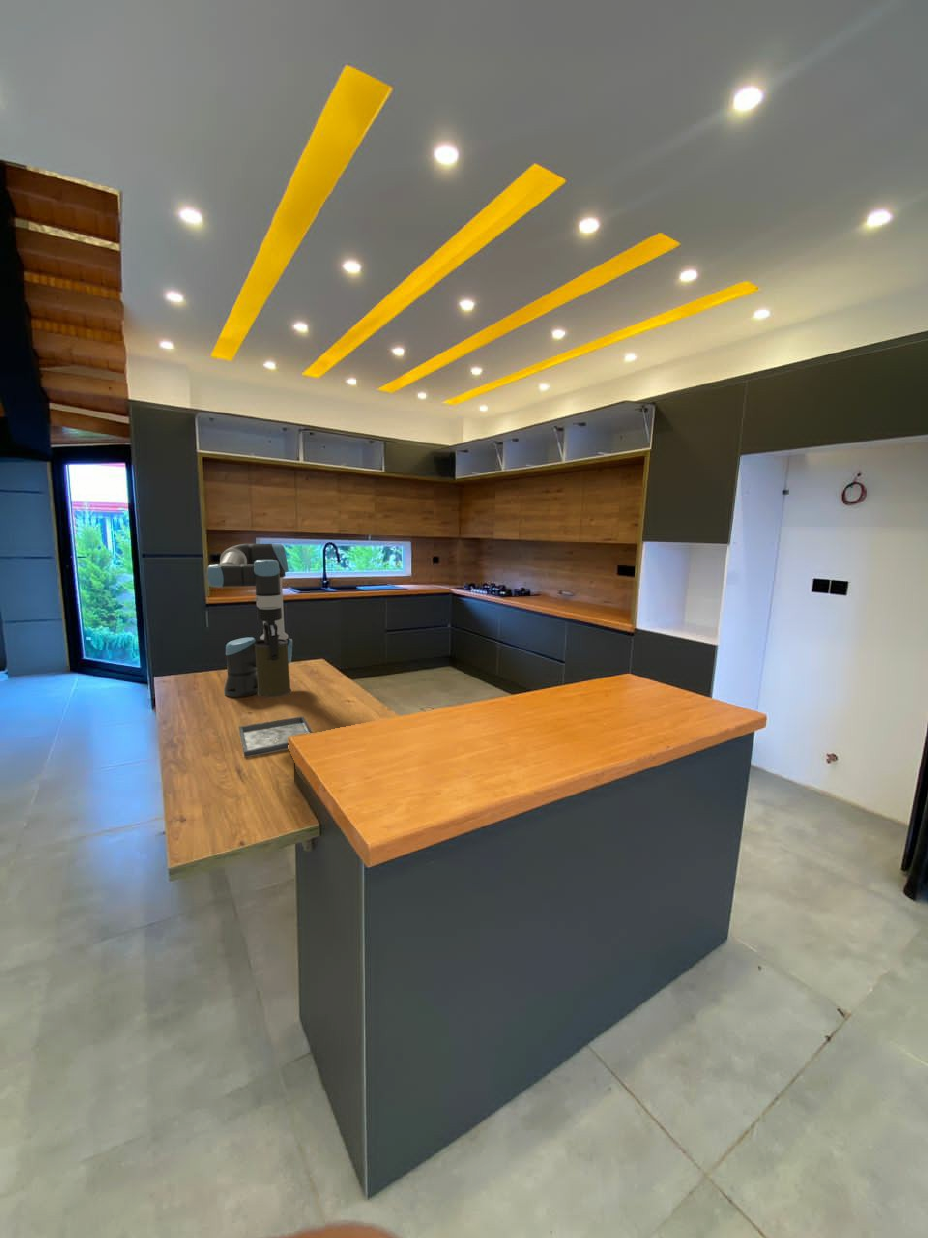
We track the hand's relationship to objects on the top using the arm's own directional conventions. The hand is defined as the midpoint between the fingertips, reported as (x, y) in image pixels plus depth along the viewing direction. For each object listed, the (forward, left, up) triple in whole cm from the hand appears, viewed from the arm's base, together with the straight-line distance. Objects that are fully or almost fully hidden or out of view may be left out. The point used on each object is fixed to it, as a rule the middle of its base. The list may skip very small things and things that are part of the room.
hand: (273, 675), depth 162 cm
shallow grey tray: (0, 0, -22) cm, 22 cm away
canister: (0, 0, -6) cm, 6 cm away
